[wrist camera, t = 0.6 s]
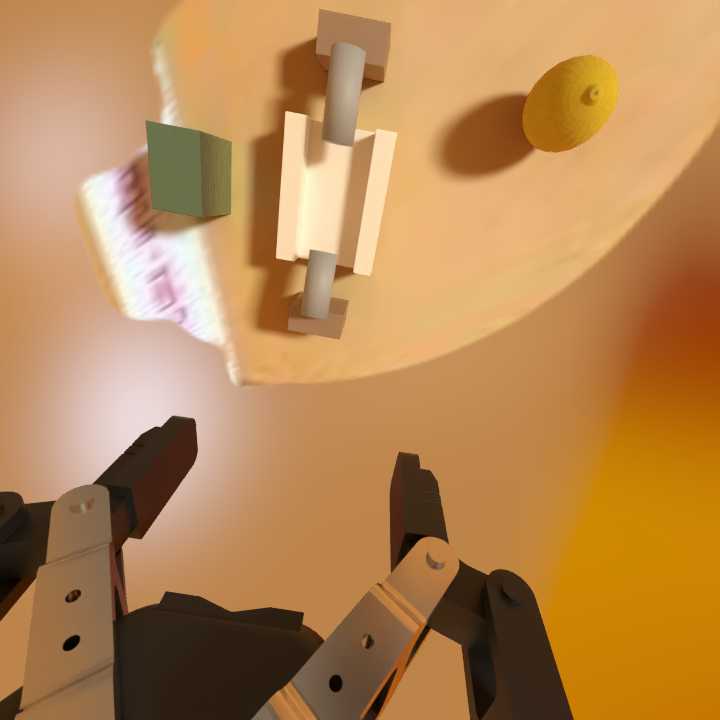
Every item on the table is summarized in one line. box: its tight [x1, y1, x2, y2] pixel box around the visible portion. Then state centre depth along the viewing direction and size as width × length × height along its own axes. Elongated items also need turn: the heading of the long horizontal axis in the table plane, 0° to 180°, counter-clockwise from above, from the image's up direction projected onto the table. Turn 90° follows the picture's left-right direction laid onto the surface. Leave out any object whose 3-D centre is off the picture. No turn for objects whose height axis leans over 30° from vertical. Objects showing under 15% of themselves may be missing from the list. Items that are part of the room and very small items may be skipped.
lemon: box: [522, 55, 619, 152], centre depth 25 cm, size 6×6×8 cm
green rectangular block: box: [146, 121, 232, 218], centre depth 30 cm, size 6×4×6 cm, turn 170°
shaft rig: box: [276, 9, 397, 339], centre depth 29 cm, size 23×9×7 cm, turn 170°
